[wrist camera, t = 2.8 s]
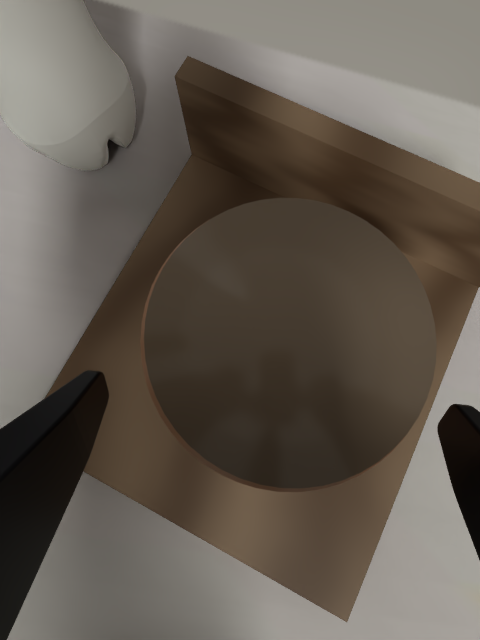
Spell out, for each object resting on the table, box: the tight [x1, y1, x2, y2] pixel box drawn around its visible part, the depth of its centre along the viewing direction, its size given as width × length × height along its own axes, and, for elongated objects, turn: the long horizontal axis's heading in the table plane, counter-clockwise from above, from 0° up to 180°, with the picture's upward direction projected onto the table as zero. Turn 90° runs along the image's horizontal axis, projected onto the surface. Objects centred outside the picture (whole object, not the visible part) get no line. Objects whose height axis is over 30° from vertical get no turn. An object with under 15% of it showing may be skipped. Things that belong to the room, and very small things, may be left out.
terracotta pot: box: [140, 198, 437, 492], centre depth 12 cm, size 6×6×10 cm
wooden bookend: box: [45, 56, 480, 622], centre depth 15 cm, size 18×19×6 cm
